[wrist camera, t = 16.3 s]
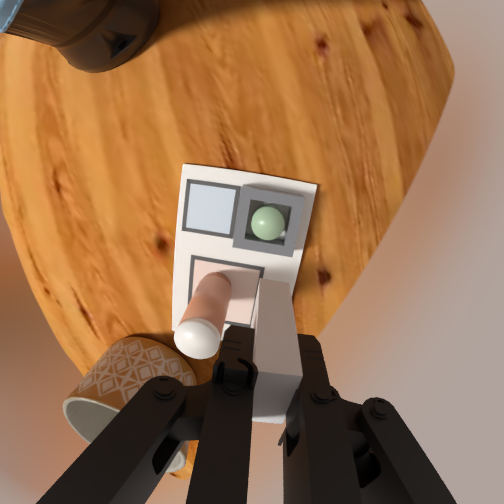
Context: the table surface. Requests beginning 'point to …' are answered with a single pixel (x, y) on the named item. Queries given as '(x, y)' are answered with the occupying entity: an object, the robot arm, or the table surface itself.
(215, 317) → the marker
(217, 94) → the table surface
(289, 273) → the sheet
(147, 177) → the table surface
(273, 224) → the button
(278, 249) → the button housing
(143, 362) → the planter
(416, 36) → the table surface
